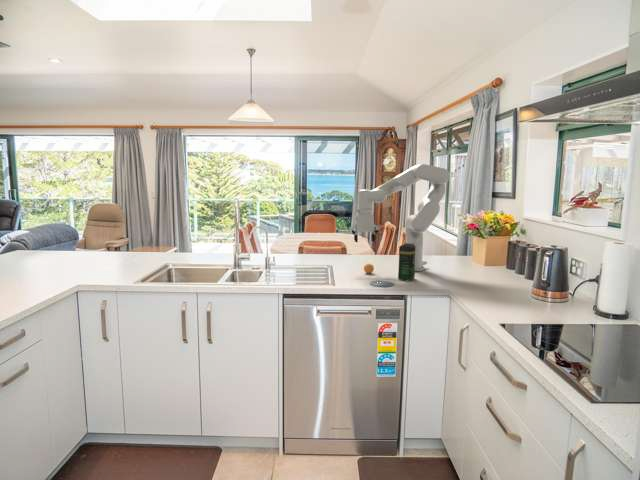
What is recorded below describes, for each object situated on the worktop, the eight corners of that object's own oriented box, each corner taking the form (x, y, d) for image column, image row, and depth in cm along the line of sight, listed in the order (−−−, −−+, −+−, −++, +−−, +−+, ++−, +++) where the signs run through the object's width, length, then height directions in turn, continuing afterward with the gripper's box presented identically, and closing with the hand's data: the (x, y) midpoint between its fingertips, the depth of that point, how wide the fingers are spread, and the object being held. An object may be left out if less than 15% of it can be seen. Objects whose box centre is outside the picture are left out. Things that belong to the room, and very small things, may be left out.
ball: (368, 271, 230) (369, 262, 229) (375, 273, 225) (375, 263, 225) (361, 273, 227) (361, 263, 226) (368, 274, 222) (368, 264, 221)
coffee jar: (411, 281, 206) (412, 245, 204) (396, 280, 210) (397, 244, 207) (416, 277, 215) (417, 243, 212) (401, 276, 218) (402, 242, 216)
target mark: (381, 280, 210) (381, 279, 210) (399, 284, 200) (399, 284, 200) (364, 283, 203) (364, 283, 203) (382, 288, 193) (382, 288, 193)
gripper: (351, 212, 225) (351, 243, 227) (381, 211, 228) (381, 242, 230) (348, 211, 232) (348, 241, 235) (377, 211, 235) (377, 240, 238)
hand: (364, 241), depth 232 cm, fingers open, 9 cm apart
